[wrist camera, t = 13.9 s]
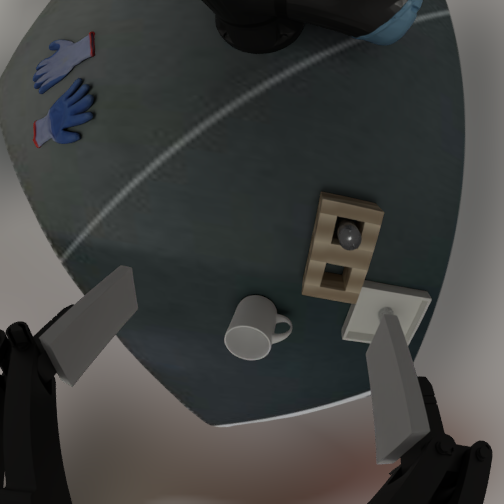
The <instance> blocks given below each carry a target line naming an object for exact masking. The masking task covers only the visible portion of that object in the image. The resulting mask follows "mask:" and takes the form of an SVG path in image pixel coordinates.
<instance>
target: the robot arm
mask: <svg viewBox="0 0 504 504" xmlns="http://www.w3.org/2000/svg"><path fill="white" fill-rule="evenodd" d="M202 1H203V2H204V3H205V4H206V5H207V6H208V7H209V8H210V9H211V10H212V11H213V12H214V13H215V22H216V27H217V29H218V32H219V33H220V35H221V36H222V37H223V39H224V40H225V41H226V42H227V43H228V44H230V45H231V46H232V47H234V48H236V49H238V50H240V51H243V52H248V53H255V54H263V53H270V52H274V51H278V50H280V49H283V48H285V47H286V46H288V45H290V44H291V43H292V42H294V41H295V40H296V39H297V38H298V36H299V35H300V33H301V32H302V30H303V27H304V22H305V23H309V24H313V25H316V26H320V27H324V28H327V29H331V30H334V31H337V32H340V33H343V34H346V35H349V36H351V37H352V38H355V39H362V40H365V41H368V42H371V43H374V44H377V45H383V46H384V45H390V44H393V43H395V42H396V41H398V40H399V39H400V38H401V37H402V36H403V35H404V34H405V33H406V32H407V31H408V29H409V28H410V27H411V25H412V24H413V22H414V20H415V19H416V16H417V11H418V10H419V9H420V7H421V5H422V2H423V0H202ZM137 309H138V305H137V299H136V293H135V286H134V280H133V273H132V268H131V267H126V266H122V265H121V266H119V267H118V268H117V269H116V270H114V271H113V272H112V273H111V274H110V275H108V276H107V277H106V278H105V279H104V280H102V281H101V282H100V283H99V284H98V285H96V286H95V287H94V288H93V289H92V290H91V291H89V292H88V293H87V294H86V295H85V296H84V297H83V298H81V299H80V300H79V301H78V302H77V303H76V304H75V305H70V306H68V307H66V308H64V309H63V310H62V311H60V312H59V313H58V314H57V316H55V317H54V318H53V319H52V321H49V322H48V323H47V324H46V325H45V326H44V327H43V328H42V329H41V330H40V331H39V332H38V333H37V334H36V335H34V336H32V334H31V332H30V329H29V327H28V325H27V324H26V323H25V322H16V323H14V324H12V325H10V326H9V327H8V328H7V330H6V334H5V332H4V331H2V330H0V367H1V369H2V371H3V373H2V375H0V504H72V501H71V498H70V493H69V489H68V485H67V481H66V476H65V471H64V466H63V461H62V455H61V449H60V441H59V433H58V422H57V408H56V382H55V377H54V375H55V374H56V373H57V374H58V375H59V377H60V379H61V380H62V381H63V382H65V383H66V384H68V385H70V386H71V387H73V386H74V384H75V383H76V382H77V380H78V379H79V378H80V377H81V376H82V374H83V373H84V372H85V370H86V369H87V368H88V367H89V366H90V364H91V363H92V362H93V361H94V360H95V358H96V357H97V356H98V355H99V354H100V352H101V351H102V350H103V349H104V348H105V346H106V345H107V344H108V343H109V342H110V340H111V339H112V338H113V337H114V336H115V335H116V333H117V332H118V331H119V330H120V329H121V328H122V326H123V325H124V324H125V323H126V322H127V321H128V320H129V318H130V317H131V316H132V315H133V314H134V313H135V312H136V310H137ZM6 335H7V336H6ZM7 337H8V338H7ZM366 358H367V365H368V372H369V379H370V387H371V395H372V405H373V414H374V425H375V438H376V439H375V440H376V458H377V459H376V460H377V464H389V463H394V462H395V461H397V460H398V459H399V458H401V465H399V466H398V467H397V468H395V469H394V470H393V471H391V472H390V473H389V474H390V475H391V474H392V475H391V477H390V478H389V479H388V480H387V482H386V483H385V484H384V485H383V486H382V488H381V489H380V490H379V491H378V492H377V494H376V495H375V496H374V497H373V498H372V499H371V500H370V501H369V502H368V503H367V504H483V501H484V498H485V493H486V489H487V484H488V480H489V474H490V468H491V462H492V449H491V447H490V445H489V444H488V443H487V442H485V441H478V442H476V443H474V444H473V445H472V446H471V447H468V446H462V445H457V444H456V443H455V442H454V439H453V438H452V437H451V436H449V435H447V434H445V433H444V429H443V425H442V421H441V417H440V413H439V409H438V405H437V404H436V403H437V401H436V398H435V397H434V395H435V394H434V391H433V388H432V385H431V383H430V382H429V381H428V379H427V378H426V377H417V375H416V372H415V368H414V364H413V361H412V358H411V355H410V352H409V348H408V345H407V342H406V339H405V336H404V333H403V331H402V328H401V325H400V322H399V319H398V317H397V316H396V315H388V314H383V317H382V319H381V322H380V324H379V326H378V329H377V331H376V333H375V335H374V337H373V340H372V342H371V344H370V346H369V348H368V350H367V352H366ZM4 472H5V477H6V487H5V488H3V484H4Z"/></svg>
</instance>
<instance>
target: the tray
mask: <svg viewBox="0 0 504 504" xmlns="http://www.w3.org/2000/svg"><path fill="white" fill-rule="evenodd" d="M431 300H432V299H431V297H430V295H429V294H428V292H427V291H423V290H417V289H411V288H406V287H400V286H395V285H389V284H384V283H378V282H373V281H367V280H364V283H363V286H362V289H361V292H360V294H359V297H358V300H357V303H356V304H352V303H351V306H350V309H349V311H348V314H347V317H346V320H345V322H344V325H343V327H342V330H341V332H342V339H343V340H350V341H357V342H365V343H371V342H372V340H373V337H374V335H375V333H376V331H377V329H378V326H379V324H380V322H379V318H378V312H379V310H380V309H382V308H384V307H390V308H391V309H392V310H393V313H394V315H396V316H397V317H398V319H399V322H400V325H401V328H402V331H403V333H404V336H405V339H406V342H407V345H409V343H410V341H411V339H412V338H413V336H414V334H415V332H416V330H417V328H418V326H419V324H420V322H421V320H422V318H423V316H424V314H425V312H426V310H427V308H428V306H429V304H430V302H431Z"/></svg>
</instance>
